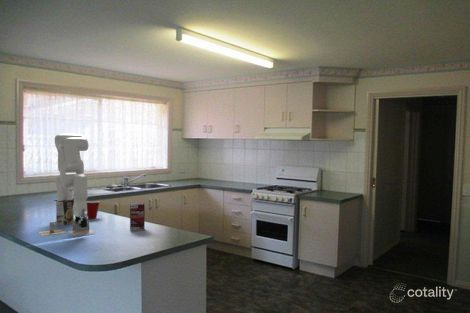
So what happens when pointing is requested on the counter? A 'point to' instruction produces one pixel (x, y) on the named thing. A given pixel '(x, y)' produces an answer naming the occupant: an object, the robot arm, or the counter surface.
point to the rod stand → (52, 230)
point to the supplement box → (137, 216)
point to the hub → (80, 231)
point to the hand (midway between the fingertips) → (81, 225)
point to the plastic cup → (92, 209)
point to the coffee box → (64, 212)
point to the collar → (79, 227)
